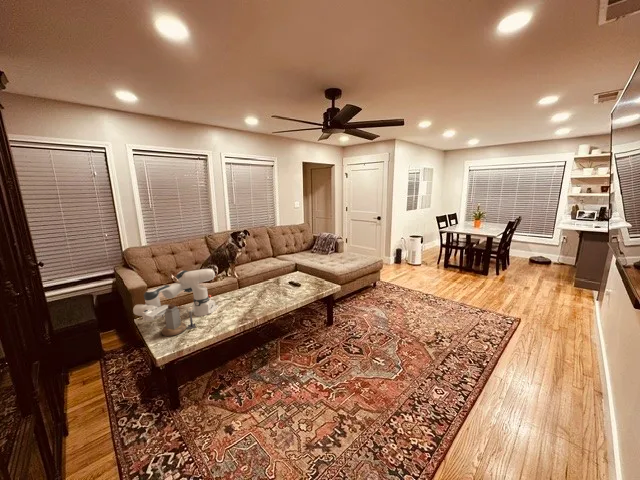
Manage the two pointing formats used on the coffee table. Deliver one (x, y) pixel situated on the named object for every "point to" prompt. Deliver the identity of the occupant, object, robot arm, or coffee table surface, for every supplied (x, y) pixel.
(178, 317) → the perfume bottle
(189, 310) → the dial indicator
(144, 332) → the coffee table surface
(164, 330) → the turntable
